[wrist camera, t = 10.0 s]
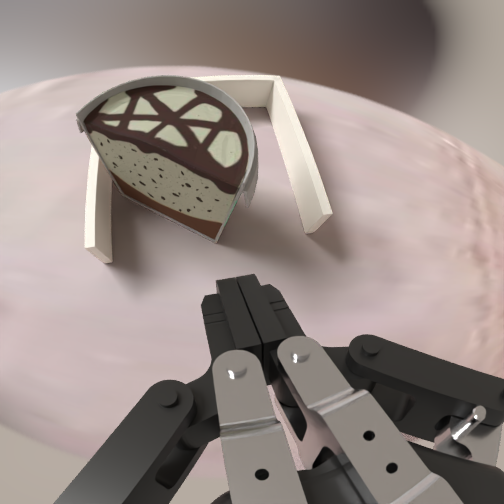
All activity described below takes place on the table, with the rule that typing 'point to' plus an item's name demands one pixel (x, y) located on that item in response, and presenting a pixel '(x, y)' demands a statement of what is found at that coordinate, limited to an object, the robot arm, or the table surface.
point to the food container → (175, 148)
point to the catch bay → (289, 139)
